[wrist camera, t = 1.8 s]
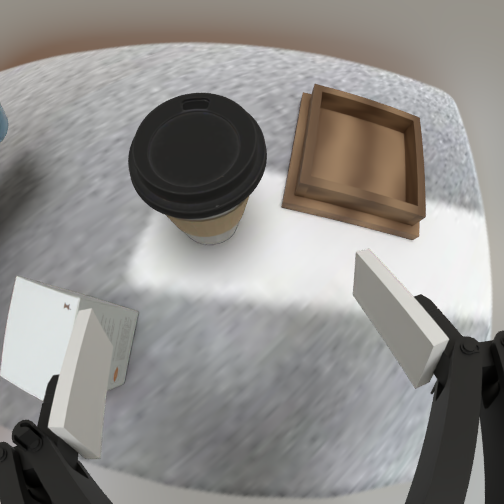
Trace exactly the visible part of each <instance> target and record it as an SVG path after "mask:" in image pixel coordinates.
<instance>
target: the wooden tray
mask: <svg viewBox="0 0 504 504" xmlns="http://www.w3.org/2000/svg"><path fill="white" fill-rule="evenodd" d="M282 208H287V209H291V210H296V211H300V212H304V213H309V214H313V215H317V216H321V217H326V218H330V219H334V220H338V221H342V222H346V223H350V224H354V225H358V226H362V227H366V228H370V229H373V230H377V231H381V232H385V233H389V234H392V235H396V236H400V237H403V238H407V239H411V240H414V239H416V238H417V237H419V221H421V220H422V219H424V218H425V217H426V204H425V173H424V157H423V145H422V134H421V125H420V118H419V117H417V116H414V115H411V114H409V113H406V112H404V111H401V110H398V109H396V108H393V107H390V106H387V105H384V104H381V103H378V102H375V101H372V100H369V99H366V98H363V97H360V96H357V95H353V94H350V93H347V92H343V91H340V90H336V89H332V88H329V87H325V86H321V85H317V84H315V85H314V88H313V91H312V94H308V93H303V95H302V99H301V104H300V109H299V115H298V121H297V126H296V132H295V137H294V143H293V148H292V154H291V159H290V165H289V170H288V175H287V181H286V186H285V191H284V196H283V202H282Z"/></svg>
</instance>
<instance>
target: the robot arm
mask: <svg viewBox="0 0 504 504" xmlns="http://www.w3.org/2000/svg"><path fill="white" fill-rule="evenodd" d="M7 130H8V119H7V117H6V114H5V112H4V110H3V108H2V106H1V104H0V142H1V141H2V140H3V139H4V137H5V136H6V134H7ZM353 296H354V297H355V299H356V300H357V302H358V303H359V305H360V306H361V307H362V309H363V310H364V312H365V313H366V315H367V316H368V318H369V319H370V321H371V322H372V323H373V325H374V326H375V328H376V329H377V331H378V332H379V334H380V335H381V337H382V338H383V340H384V341H385V343H386V344H387V346H388V347H389V349H390V350H391V352H392V353H393V355H394V356H395V358H396V359H397V361H398V363H399V364H400V366H401V367H402V369H403V370H404V372H405V373H406V375H407V377H408V378H409V380H410V381H411V383H412V384H413V386H414V388H415V389H416V388H418V387H420V386H422V385H424V384H427V383H429V382H430V380H431V378H432V376H433V374H434V375H435V376H436V378H437V381H436V383H435V385H434V387H433V389H432V391H431V393H430V394H433V393H434V397H433V402H432V407H431V412H430V417H429V422H428V426H427V431H426V435H425V439H424V443H423V447H422V451H421V455H420V458H419V462H418V465H417V469H416V472H415V475H414V478H413V481H412V485H411V488H410V491H409V493H408V497H407V499H406V502H405V504H464V501H465V497H466V492H467V489H468V484H469V480H470V474H471V471H472V465H473V460H474V454H475V448H476V441H477V434H478V426H479V416H480V423H481V432H482V442H483V454H484V471H485V504H504V331H500V332H498V333H497V334H496V336H495V338H494V340H492V341H485V342H478V341H477V340H475V339H474V338H471V337H463V336H462V335H461V334H460V333H459V332H458V330H457V329H456V328H455V327H454V326H453V325H452V323H451V322H450V321H449V320H448V319H447V318H446V317H445V315H443V314H442V312H441V311H440V310H439V309H437V306H436V305H435V304H434V303H433V302H432V301H431V300H430V299H428V298H427V297H425V296H423V295H421V294H420V295H417V296H415V297H413V296H412V294H411V293H410V292H409V291H408V290H407V289H406V288H405V287H404V285H403V284H402V283H401V282H400V281H399V280H398V279H397V278H396V277H395V276H394V274H393V273H392V272H391V271H390V270H389V269H388V268H387V267H386V266H385V265H384V264H383V263H382V262H381V261H380V259H379V258H378V257H377V256H376V255H375V254H374V253H373V252H372V251H371V250H370V249H365V250H361V251H357V252H356V257H355V273H354V286H353ZM112 352H113V345H112V344H111V342H110V340H109V338H108V337H107V335H106V333H105V331H104V330H103V328H102V326H101V324H100V323H99V321H98V319H97V317H96V315H95V313H94V311H93V309H92V308H91V309H85V310H80V311H79V312H78V315H77V318H76V321H75V324H74V327H73V330H72V333H71V337H70V340H69V343H68V346H67V350H66V353H65V357H64V360H63V364H62V367H61V371H60V374H58V375H53V376H52V378H51V379H50V381H49V382H48V384H47V388H46V392H45V396H44V400H43V402H44V403H43V404H42V408H41V412H40V417H39V421H38V426H36V425H35V424H34V423H33V422H32V421H29V420H22V421H20V422H19V423H18V424H17V425H16V426H15V427H14V429H13V431H12V440H13V443H15V444H16V445H17V446H15V447H12V446H10V445H9V444H8V443H6V442H0V502H1V504H113V503H112V502H111V501H110V500H109V499H108V497H107V496H106V495H105V494H104V493H103V491H102V490H101V489H100V488H99V486H98V485H97V484H96V482H95V481H94V480H93V478H92V477H91V476H90V474H89V473H88V472H87V470H86V469H85V468H84V466H83V465H82V463H81V462H80V461H78V453H79V454H80V455H81V456H83V457H84V458H85V459H101V445H102V432H103V421H104V411H105V402H106V394H107V386H108V378H109V371H110V365H111V358H112Z"/></svg>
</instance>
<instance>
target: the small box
mask: <svg viewBox="0 0 504 504" xmlns="http://www.w3.org/2000/svg"><path fill="white" fill-rule="evenodd" d="M91 308H92V309H93V311H94V313H95V315H96V317H97V319H98V321H99V323H100V324H101V326H102V328H103V330H104V331H105V333H106V335H107V337H108V338H109V340H110V342H111V344H112V345H113V352H112V358H111V365H110V371H109V378H108V386H107V391H109V390H111V389H113V388H115V387H118V386H120V385H122V384H124V382H125V377H126V371H127V366H128V361H129V356H130V351H131V346H132V341H133V337H134V332H135V327H136V323H137V318H138V313H139V312H138V311H136V310H132V309H129V308H126V307H123V306H119V305H116V304H113V303H110V302H107V301H103V300H100V299H97V298H94V297H91V296H87V295H84V294H80V293H77V292H73V291H70V290H66V289H62V288H58V287H55V286H52V285H48V284H45V283H41V282H38V281H34V280H31V279H27V278H24V277H20V276H16V280H15V284H14V289H13V293H12V297H11V302H10V307H9V312H8V318H7V324H6V330H5V336H4V343H3V351H2V359H1V369H0V376H1V377H3V378H4V379H6V380H7V381H9V382H11V383H12V384H14V385H16V386H17V387H19V388H20V389H22V390H24V391H25V392H27V393H29V394H31V395H32V396H34V397H36V398H38V399H39V400H41V401H43V400H44V396H45V392H46V388H47V384H48V382H49V381H50V379H51V378H52V376H53V375H58V374H60V371H61V367H62V364H63V360H64V357H65V353H66V350H67V346H68V343H69V340H70V337H71V333H72V330H73V327H74V324H75V321H76V318H77V315H78V312H79V311H80V310H85V309H91Z"/></svg>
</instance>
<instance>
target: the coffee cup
mask: <svg viewBox="0 0 504 504" xmlns="http://www.w3.org/2000/svg"><path fill="white" fill-rule="evenodd" d="M266 160H267V151H266V145H265V140H264V136H263V133H262V131H261V129H260V127H259V125H258V124H257V122H256V121H255V120H254V118H253V117H252V116H251V115H250V114H249V113H248V112H246V111H245V110H244V109H243V108H242V107H241V106H240V105H239V104H237V103H236V102H234V101H232V100H230V99H228V98H226V97H223V96H220V95H216V94H211V93H191V94H185V95H181V96H178V97H175V98H172V99H170V100H168V101H166V102H164V103H162V104H161V105H159V106H158V107H156V108H155V109H154V110H152V111H151V112H150V113H149V114H148V115H147V116H146V117H145V119H144V120H143V121H142V123H141V124H140V126H139V128H138V130H137V132H136V134H135V137H134V139H133V141H132V144H131V147H130V151H129V158H128V164H129V172H130V176H131V180H132V183H133V186H134V188H135V190H136V192H137V193H138V195H139V196H140V197H141V198H142V200H143V201H144V202H145V203H147V204H148V205H149V206H150V207H152V208H153V209H155V210H156V211H158V212H160V213H162V214H165V215H166V216H167V217H168V218H169V219H170V220H171V221H172V222H173V223H174V224H175V225H176V226H177V227H178V228H179V229H180V230H182V231H183V232H185V233H186V234H187V235H188V236H189V237H190V238H191V239H193V240H194V241H196V242H198V243H201V244H206V245H213V244H218V243H221V242H224V241H226V240H227V239H229V238H230V237H231V236H232V235H233V234H234V232H235V230H236V228H237V225H238V222H239V221H240V219H241V217H242V215H243V213H244V210H245V207H246V204H247V201H248V198H249V195H250V194H251V193H252V192H253V191H254V189H255V188H256V187H257V185H258V184H259V182H260V180H261V178H262V176H263V173H264V170H265V167H266Z"/></svg>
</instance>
